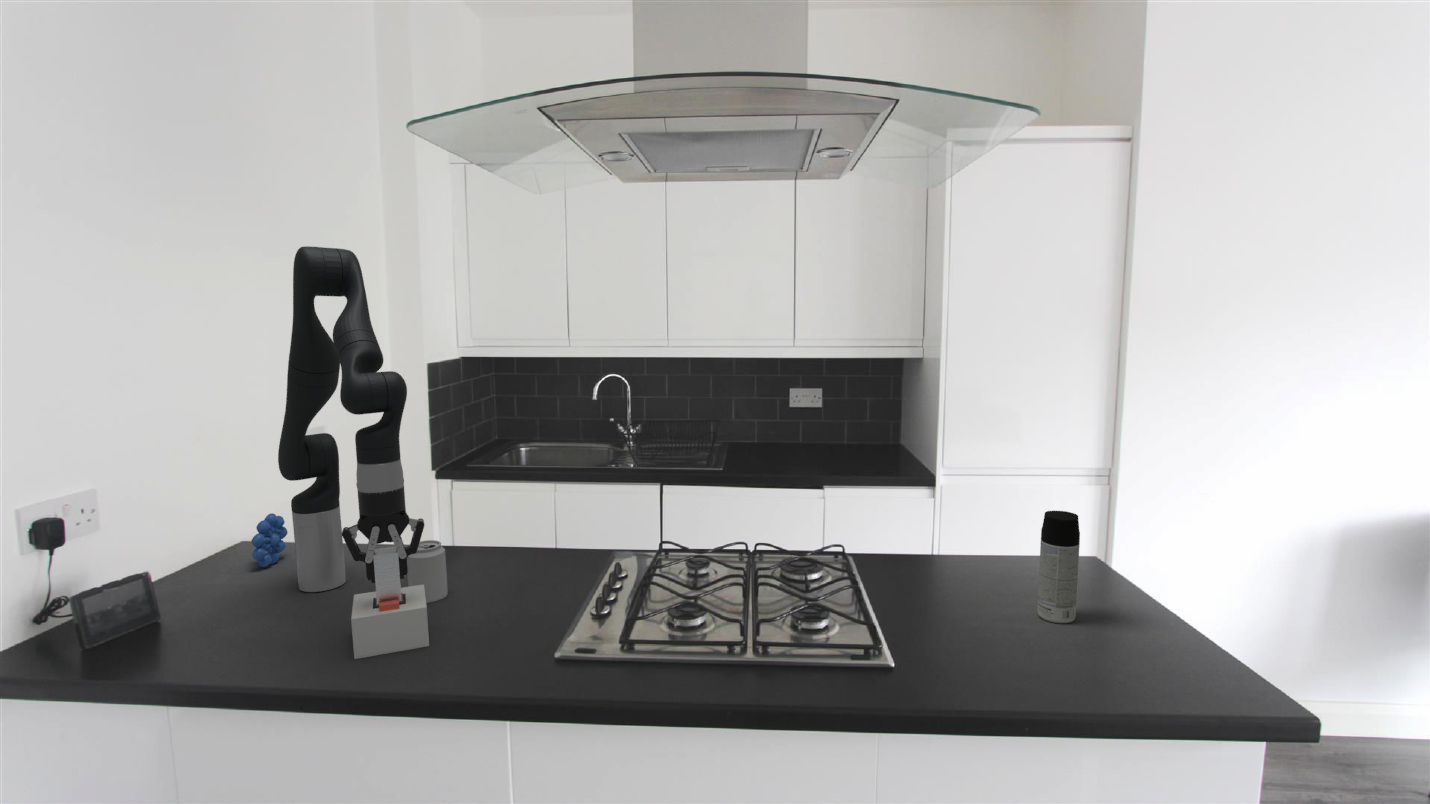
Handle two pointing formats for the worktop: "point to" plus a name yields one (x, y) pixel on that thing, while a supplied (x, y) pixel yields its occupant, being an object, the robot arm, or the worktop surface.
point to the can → (429, 570)
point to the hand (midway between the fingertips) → (387, 579)
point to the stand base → (389, 623)
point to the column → (387, 575)
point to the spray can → (1058, 567)
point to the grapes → (269, 540)
